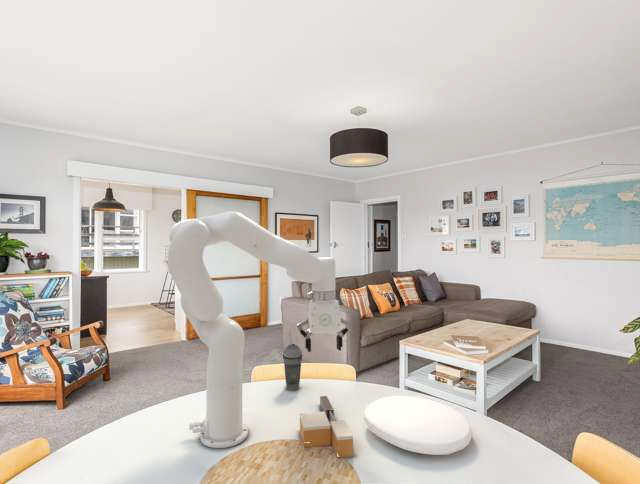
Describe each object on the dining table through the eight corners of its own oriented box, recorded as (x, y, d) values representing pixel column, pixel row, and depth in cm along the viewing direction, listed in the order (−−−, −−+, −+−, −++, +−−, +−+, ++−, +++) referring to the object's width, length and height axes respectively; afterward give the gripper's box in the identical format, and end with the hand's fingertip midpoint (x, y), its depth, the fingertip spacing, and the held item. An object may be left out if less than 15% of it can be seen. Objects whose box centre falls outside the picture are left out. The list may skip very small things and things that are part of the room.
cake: (304, 447, 94) (303, 427, 94) (299, 431, 102) (299, 413, 102) (330, 444, 95) (330, 425, 96) (324, 429, 103) (324, 411, 103)
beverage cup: (295, 393, 128) (294, 335, 129) (278, 389, 132) (278, 332, 132) (306, 386, 134) (306, 331, 135) (290, 382, 138) (290, 329, 139)
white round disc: (476, 406, 107) (467, 453, 83) (473, 428, 107) (465, 482, 83) (382, 379, 120) (352, 414, 96) (380, 399, 120) (349, 438, 96)
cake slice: (337, 457, 90) (337, 437, 90) (330, 440, 97) (330, 421, 98) (353, 456, 90) (352, 435, 90) (345, 439, 98) (344, 420, 98)
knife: (333, 436, 100) (333, 425, 100) (320, 405, 118) (320, 396, 118) (341, 435, 100) (340, 424, 100) (326, 405, 119) (326, 395, 119)
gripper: (298, 298, 112) (298, 355, 112) (353, 297, 115) (353, 352, 115) (295, 295, 120) (295, 348, 119) (347, 293, 123) (347, 345, 122)
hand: (323, 350), depth 117 cm, fingers open, 9 cm apart
